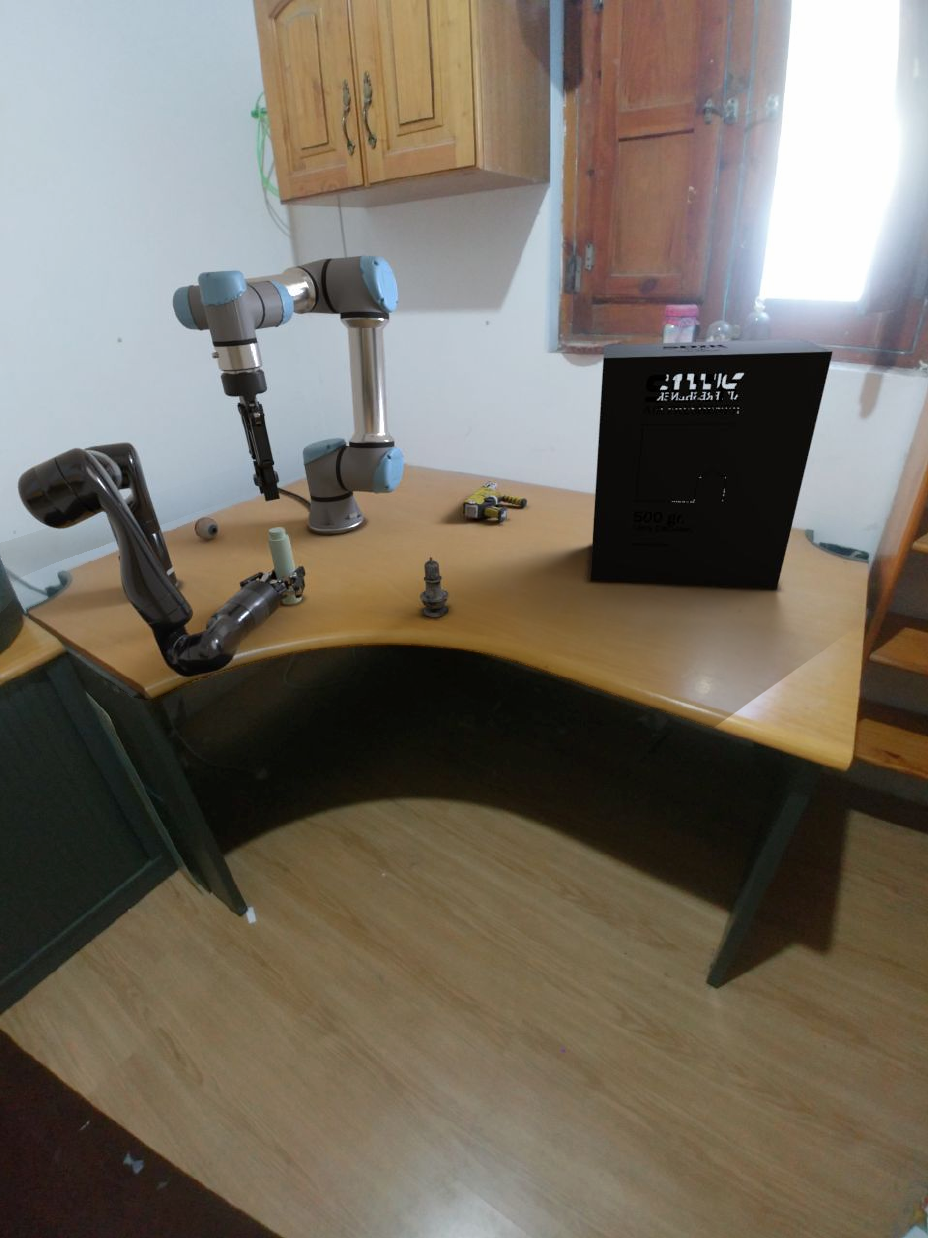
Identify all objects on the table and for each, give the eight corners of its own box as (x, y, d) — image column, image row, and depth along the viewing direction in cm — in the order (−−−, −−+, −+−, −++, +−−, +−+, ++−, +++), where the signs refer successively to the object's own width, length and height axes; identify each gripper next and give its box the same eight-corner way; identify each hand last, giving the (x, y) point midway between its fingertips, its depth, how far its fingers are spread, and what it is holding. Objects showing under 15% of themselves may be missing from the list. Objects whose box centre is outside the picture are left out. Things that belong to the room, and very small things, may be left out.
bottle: (297, 604, 129) (282, 533, 121) (279, 604, 130) (262, 533, 121) (304, 595, 133) (289, 525, 125) (286, 595, 133) (270, 525, 125)
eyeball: (208, 544, 161) (202, 523, 158) (193, 540, 164) (187, 519, 161) (226, 536, 166) (220, 516, 163) (211, 533, 169) (205, 512, 166)
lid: (276, 485, 116) (274, 476, 115) (252, 487, 116) (249, 478, 115) (281, 478, 120) (279, 469, 119) (258, 480, 120) (255, 471, 119)
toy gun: (534, 486, 180) (487, 479, 184) (513, 510, 160) (461, 501, 164) (533, 501, 182) (486, 494, 186) (512, 527, 162) (460, 518, 166)
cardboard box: (756, 549, 141) (800, 338, 118) (776, 589, 124) (832, 351, 101) (592, 544, 148) (604, 344, 126) (590, 580, 131) (603, 357, 109)
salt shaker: (446, 618, 120) (442, 563, 114) (417, 616, 122) (412, 562, 116) (452, 604, 125) (448, 551, 119) (425, 602, 126) (420, 550, 120)
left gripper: (279, 592, 113) (319, 555, 127) (213, 587, 116) (259, 551, 130) (287, 626, 116) (325, 586, 131) (223, 621, 120) (266, 582, 134)
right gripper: (213, 367, 113) (243, 487, 125) (226, 378, 100) (259, 512, 111) (254, 362, 116) (279, 480, 128) (272, 373, 102) (299, 504, 114)
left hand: (292, 569), depth 130 cm, fingers closed on bottle, 4 cm apart
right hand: (270, 495), depth 120 cm, fingers closed on lid, 4 cm apart
